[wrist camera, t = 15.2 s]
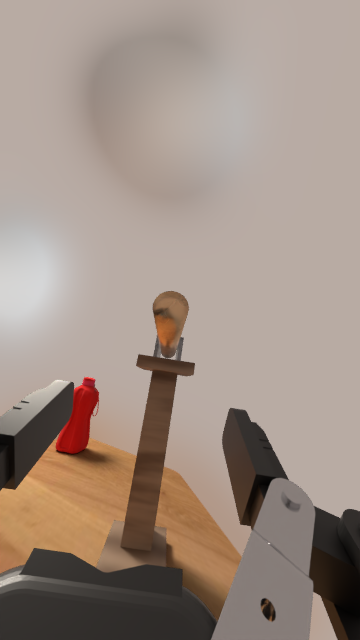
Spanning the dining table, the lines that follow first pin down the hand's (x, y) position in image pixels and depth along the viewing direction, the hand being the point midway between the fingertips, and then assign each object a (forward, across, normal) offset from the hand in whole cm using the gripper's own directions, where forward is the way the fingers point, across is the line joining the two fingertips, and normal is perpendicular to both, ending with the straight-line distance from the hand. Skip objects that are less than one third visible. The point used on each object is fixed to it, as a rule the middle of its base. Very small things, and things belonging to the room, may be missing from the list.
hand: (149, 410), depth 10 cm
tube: (+16, 0, +3) cm, 17 cm away
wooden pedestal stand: (+14, 0, +39) cm, 41 cm away
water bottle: (+51, +28, +60) cm, 84 cm away
